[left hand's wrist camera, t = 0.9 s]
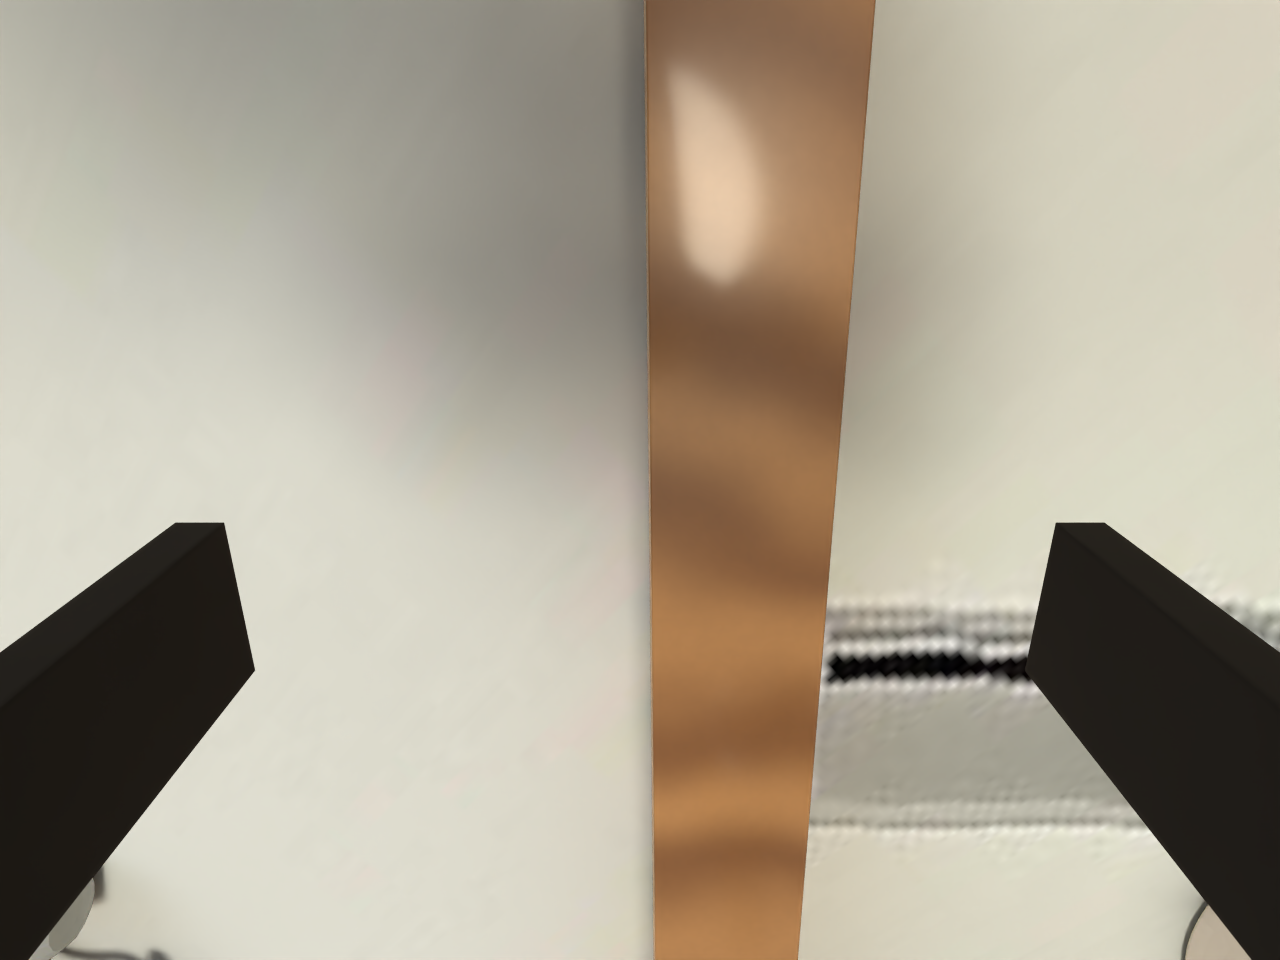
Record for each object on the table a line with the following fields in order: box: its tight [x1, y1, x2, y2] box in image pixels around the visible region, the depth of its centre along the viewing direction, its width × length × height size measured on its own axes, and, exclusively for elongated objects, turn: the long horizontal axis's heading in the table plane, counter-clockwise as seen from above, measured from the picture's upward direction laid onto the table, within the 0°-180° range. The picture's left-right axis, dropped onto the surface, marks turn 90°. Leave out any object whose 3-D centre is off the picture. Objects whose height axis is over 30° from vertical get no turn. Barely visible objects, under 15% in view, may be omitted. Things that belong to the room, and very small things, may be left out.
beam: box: [644, 0, 876, 960], centre depth 35 cm, size 78×6×8 cm, turn 1°
